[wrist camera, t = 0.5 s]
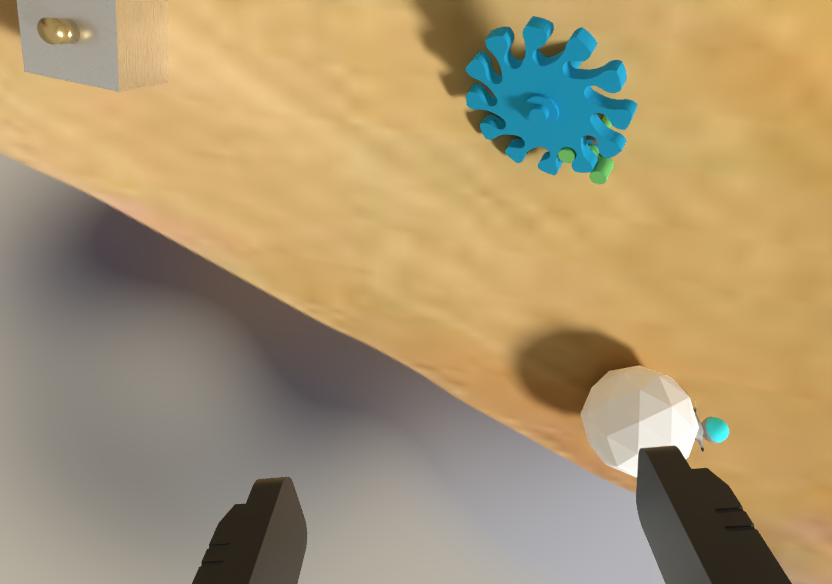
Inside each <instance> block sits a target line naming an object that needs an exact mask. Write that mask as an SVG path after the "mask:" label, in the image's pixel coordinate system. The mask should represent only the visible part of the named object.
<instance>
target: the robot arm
mask: <svg viewBox="0 0 832 584" xmlns="http://www.w3.org/2000/svg"><path fill="white" fill-rule="evenodd" d="M636 503H637V510H638V514H639V519H640V522H641V525H642V528H643V530H644V533H645V535H646V537H647V540H648V542H649V545H650V547H651V549H652V552H653V554H654V557H655V559H656V561H657V564H658V566H659V569H660V571H661V574H662V576H663V578H664V581H665V583H666V584H792V583H791V582H790V580H789V579H788V577H787V575H786V574H785V572H784V571H783V569H782V568H781V566H780V565H779V563H778V561H777V560H776V558H775V557H774V555H773V554H772V552H771V551H770V549H769V548H768V546H767V544H766V543H765V541H764V540H763V538H762V537H761V535H760V534H759V532H758V530H755V528H754V524H753V523H752V521H751V520H750V518H749V516H748V515H747V513H746V512H745V511H743V508H742V506H741V504H740V502H739V501H738V499H737V498H736V496H735V495H734V493H733V492H732V490H731V488H730V487H729V485H727V484H726V483H725V482H724V481H722V480H721V479H720V478H719V477H717V476H716V475H715V474H714V473H712V472H711V471H710V470H709V469H707V468H700V469H691V468H690V466H689V464H688V463H687V461H686V459H685V458H684V456H683V454H682V452H681V451H680V449H679V448H678V447H677V446H675V445H673V446H661V447H649V448H640V450H639V453H638V470H637V490H636ZM306 544H307V528H306V522H305V519H304V515H303V513H302V509H301V506H300V503H299V500H298V497H297V494H296V491H295V488H294V485H293V482H292V480H291V478H290V477H281V478H268V479H258V480H256V482H255V483H254V485H253V487H252V490H251V492H250V495H249V497H248V500H247V502H246V504H236V505H234V506H233V507H232V509H231V510H230V511H229V512H228V513H227V514H226V515H225V517H224V518H223V519H222V520H221V521H220V522H219V524H218V526H217V528H216V530H215V532H214V535H213V537H212V539H211V542H210V544H209V549H207V551H206V553H205V555H204V557H203V560H202V565H201V567H199V569H198V571H197V574H196V576H195V578H194V580H193V583H192V584H297V583H298V579H299V574H300V571H301V566H302V562H303V558H304V554H305V550H306Z"/></svg>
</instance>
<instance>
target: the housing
mask: <svg viewBox="0 0 832 584" xmlns="http://www.w3.org/2000/svg"><path fill="white" fill-rule="evenodd" d="M17 9H18V18H19V27H20V36H21V45H22V53H23V62H24V71H25V72H28V73H33V74H38V75H43V76H47V77H52V78H57V79H61V80H66V81H71V82H76V83H80V84H85V85H90V86H94V87H99V88H104V89H109V90H113V91H118V92H121V91H126V90H131V89H136V88H141V87H146V86H151V85H156V84H161V83H167V82H168V0H17Z"/></svg>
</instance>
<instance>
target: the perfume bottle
mask: <svg viewBox="0 0 832 584" xmlns="http://www.w3.org/2000/svg"><path fill="white" fill-rule="evenodd" d="M694 407H695V408H693V407H692V403H691V400H690V397H689V396H688V395H687V394H686V393H685V392H684V391H683V389H682V388H681V387H680V386H679V385H678V384H677V383H676V382H675V381H674V380H673V378H672V377H671V376H669V375H666V374H663V373H660V372H657V371H654V370H651V369H648V368H645V367H643V366H640V365H639V366H634V367H628V368H623V369H617V370H611V371H608V372H607V373H606V374H605V375H604V376H603V377H602V378H601V379H600V380H599V381H598V382H597V383H596V384H595V385H594V386H593V387H592V388H591V390H590V392H589V395H588V397H587V400H586V402H585V404H584V407H583V409H582V411H581V418H582V421H583V425H584V428H585V432H586V435H587V439H588V442H589V444H590V446H591V447H592V448H593V449H594V451H595V452H596V453H597V455H598V456H599V457H600V458H601V460H602V461H603V462H604V464H606V465H608V466H610V467H613V468H615V469H617V470H620V471H622V472H624V473H627V474H629V475H631V476H634V477H637V470H638V453H639V450H640V448H649V447H661V446H673V445H675V446H677V447H678V448H679V449H680V451H681V452H682V454H683V456H684V458H685V459H686V458H687V457H689V454H690V451H691V448H692V446H693V443H694V440H697V441H698V442H699V444H700V446H701V450H702V451H704V448H703V442H702V440H703V437H704V438H705V439H706V440H708V441H709V442H711V443H721V442H722V441H724V440H725V439H726V438H727V437H728V435H729V428H728V426H727V424H726V423H725V422H724V421H723V420H721V419H719V418H714V417H708V418H706V419H705V420H704V421H703V422H702V424H701V423H700V421H699V419H698V417H697V414H696V410H697V405H696V402H695V400H694Z"/></svg>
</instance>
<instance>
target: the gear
mask: <svg viewBox="0 0 832 584" xmlns="http://www.w3.org/2000/svg"><path fill="white" fill-rule="evenodd" d="M553 29H554V26H553V23H551V22H550V21H548V20H546V19H543V18H539V17H534V16H533V17H532V18H531V19H530V21H529V22H528V24H527V25H526V26H525V28H524V30H523V38H524V41H525V45H526V53H525V58H524V59H523V60H518V59H516V58H515V57H513V55H512V54H511V46H512V43H513V41H514V33H513V31H512V29H511V28H510V27H501V28H497V29H495V30H492V31H491V33H490V34H489V36H488V37H487V38H486V46H487V48H488V50H489V51H490V52H491V53H492V54H493V55H494V56H495V57H496V59H497V61H498V62H499V65H500V68H501V72H502V75H498V74H497V73H496V72H495V71H494V70H493V67H492V62H491V58H490V56H489V55H488V54H487V53H486V52H484V51H480V52H478V53H477V54H476V55H475V57H474V58H473V59H472V61H471V62H470V63H469V65H468V66H467V68H466V69H465V70H466V72H467V73H468V74H469V75H470V76H471V77H473V78H475V79H477V80H479V81H481V82H483V83H484V84H485V85H486V86H488V87H489V88H490V90H491V91H492V92H493V93H494V95H495V96H496V98H495V97H493V96H492V95H491V94H490V93H489V92H488V91H487V89H486V88H485V87H484V86H483V85H481V84H479V83H474V85H473V86H472V87H471V89H470V90H469V91H468V93H467V97H466V102H467V106H468V107H469V108H471V109H474V110H479V109H481V110H487V111H490V112H492V113H494V114H496V115H498V116H499V117H501V118H502V119H504V121H503V120H501V119H500V118H498V117H496V116H494V115H487V116H485V118H484V119H483V121H482V122H481V124H480V128H481V131H482V133H483V135H484V136H485V138H486V139H489V140H492V139H495V138H496V137H498V136H500V135H505V134H509V135H516V136H519V137H521V138H522V139H523V140H522V139H513V140H512V141H511V142H510V144H509V146H508V147H507V149H506V150H505V152H506V154H507V155H508V156H509V157H510V158H511V159H512V160H514V161H515V162H516V163H520V162H522V161H523V159H524V158H525V156H526V154H527V153H528V151H529V150H531V149H533V148H536V147H544V148H546V149H547V150H548V152H546V153H545V154H544V155H543V157H542V159H541V160H540V162H539V164H538V168H539V169H540V170H542V171H544V172H546V173H549V174H552V175H555V174H556V173H557V172H558V170H559V168H560V167H561V165H562V162H565V163H571V162H572V168H573V170H574V171H575V172H581V173H585V172H591V173H590V179H591V181H592V182H594V183H596V184H603V183H605V182H606V180H607V178H608V176H609V174H610V172H611V171H612V169H613V167H614V162H613V161H612V160H611V159H610V158H611V157H613V156H615V155H617V154H618V153H619V152H621V151H622V149H623V147H624V145H625V143H626V139H625V137H624V136H623V135H622V134H620V133H618V132H615V131H613V130H611V129H610V127H611V125H613V126H614V127H616V128H618V129H622V130H625V129H626V128H627V127H628V125H629V124H630V122H631V120H632V118H633V116H634V114H635V111H636V108H637V104H636V103H635V102H634V101H632V100H627V99H624V100H616V99H610V98H607V97H605V96H603V95H601V94H599V93H597V92H596V91H594V90H593V89H592V88H591V85H594V86H598V87H599V88H601V89H603V90H604V91H606V92H609V93H616V92H619V91H620V90H621V89H622V87H623V85H624V83H625V81H626V70H625V67H624V64H623V62H622V61H620V60H613V61H610V62H609V63H607V64H606V65H604V66H602V67H600V68H597V69H592V70H584V69H578V67H579V66H580V64H581V62H582V61H585V60H587V59H588V58H589V57H590V55H591V54H592V52H593V51H594V49H595V47H596V45H597V42H596V40H595V39H594V37H593V36H592V35H591V34H590V33H589V32H588V31H586V30H585V29H584V28H583V27H582V28H579V29H577V30H576V31H575V32H574V33H573V35H572V36H571V38H570V39H569V41H568V42H567V44H566V48H565V49H564V50H563V51H562V52H560V53H559V54H557V55H554V56H552V57H546V56H544V55H543V54H542V53H541V52H540V50H539V48H540V47H542V46H543V45H544V44H545V43H546V42H547V40H548V39H549V37H550V36H551V34H552V32H553ZM597 113H601V114H604V116H603V117H602V119H601V120H600V118H599V117H598V115H597Z"/></svg>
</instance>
